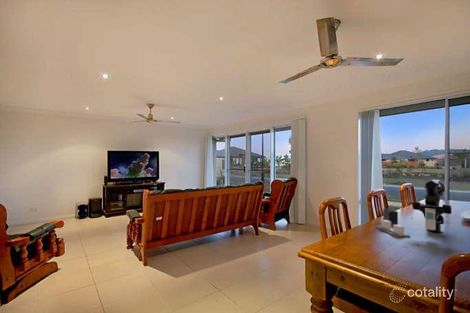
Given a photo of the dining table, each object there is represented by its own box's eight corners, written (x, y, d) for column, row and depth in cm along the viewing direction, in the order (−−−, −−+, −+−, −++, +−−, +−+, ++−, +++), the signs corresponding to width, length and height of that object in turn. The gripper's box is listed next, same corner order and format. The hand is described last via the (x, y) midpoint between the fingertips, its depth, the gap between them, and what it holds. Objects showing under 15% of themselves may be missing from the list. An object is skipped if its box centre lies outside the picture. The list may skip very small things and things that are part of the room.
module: (426, 227, 147) (426, 207, 147) (435, 228, 143) (435, 209, 143) (425, 228, 144) (425, 209, 144) (434, 230, 140) (434, 210, 140)
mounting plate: (388, 227, 168) (388, 219, 168) (410, 237, 148) (410, 227, 148) (376, 228, 168) (376, 219, 168) (396, 237, 148) (396, 227, 148)
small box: (398, 225, 173) (398, 211, 173) (388, 225, 175) (388, 211, 175) (392, 222, 184) (391, 208, 184) (382, 221, 185) (382, 208, 185)
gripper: (412, 189, 153) (409, 208, 145) (451, 192, 140) (450, 213, 132) (414, 199, 159) (411, 218, 151) (451, 203, 145) (451, 224, 138)
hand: (430, 218), depth 143 cm, fingers closed on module, 4 cm apart
